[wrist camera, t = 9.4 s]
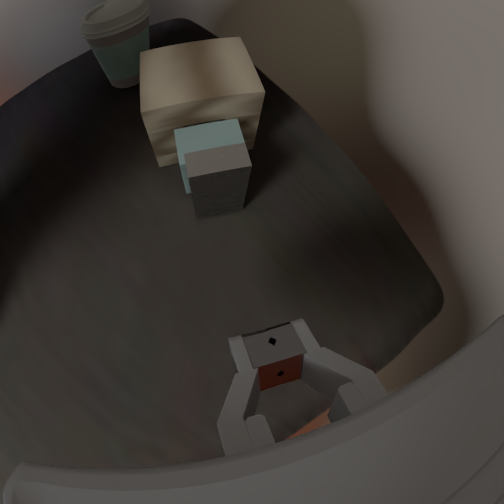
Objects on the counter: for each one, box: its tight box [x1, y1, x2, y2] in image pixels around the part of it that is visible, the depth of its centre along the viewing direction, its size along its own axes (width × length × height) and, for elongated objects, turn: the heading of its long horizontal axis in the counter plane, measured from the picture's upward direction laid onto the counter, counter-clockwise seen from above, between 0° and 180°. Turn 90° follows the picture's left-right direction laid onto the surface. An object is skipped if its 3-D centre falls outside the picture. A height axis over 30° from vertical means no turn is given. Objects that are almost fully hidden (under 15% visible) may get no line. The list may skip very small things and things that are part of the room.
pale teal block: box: [174, 119, 245, 194], centre depth 24 cm, size 5×4×5 cm, turn 105°
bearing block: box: [140, 37, 265, 167], centre depth 24 cm, size 10×9×9 cm
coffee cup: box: [81, 0, 151, 88], centre depth 24 cm, size 9×8×12 cm
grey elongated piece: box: [184, 120, 252, 219], centre depth 24 cm, size 4×18×8 cm, turn 15°
